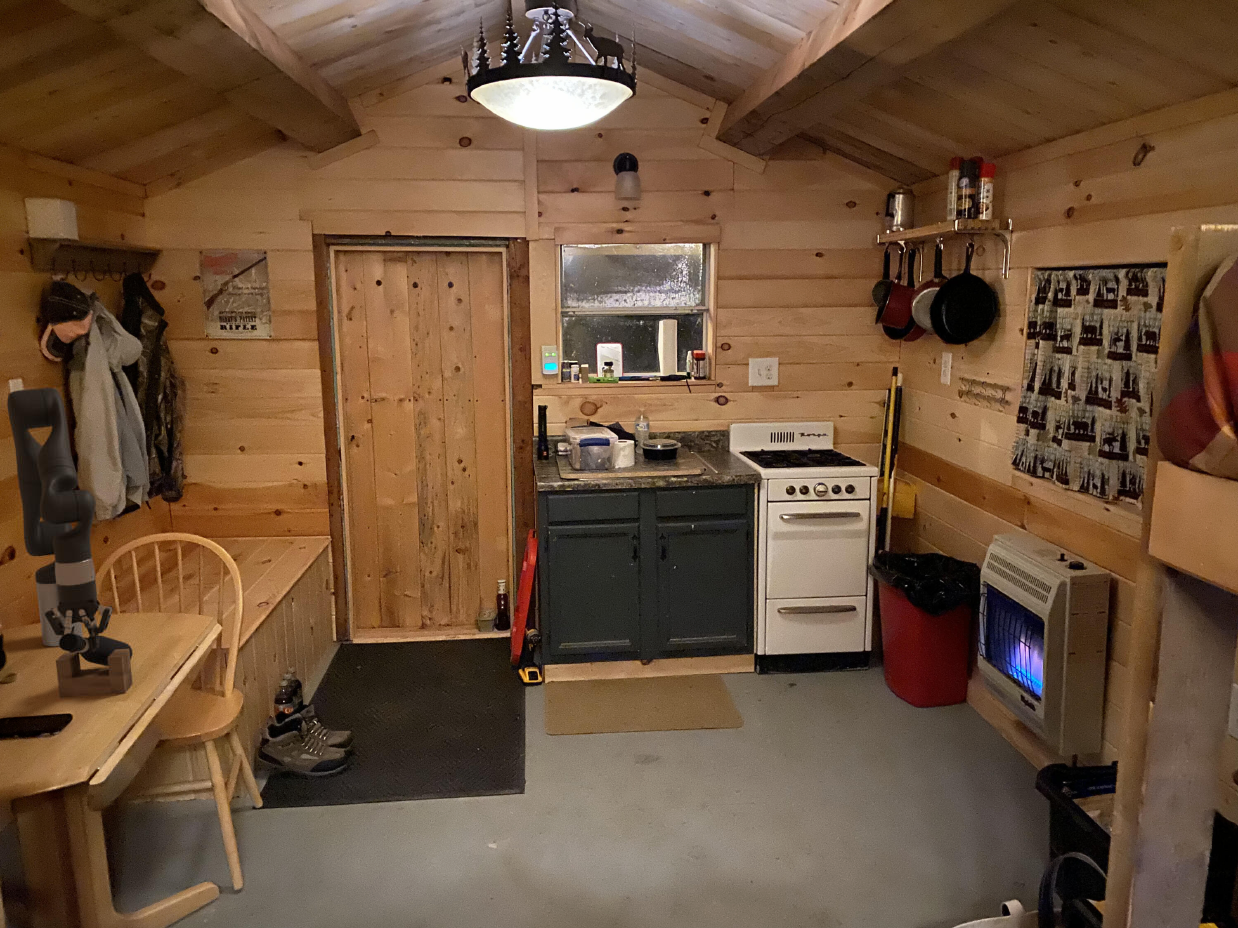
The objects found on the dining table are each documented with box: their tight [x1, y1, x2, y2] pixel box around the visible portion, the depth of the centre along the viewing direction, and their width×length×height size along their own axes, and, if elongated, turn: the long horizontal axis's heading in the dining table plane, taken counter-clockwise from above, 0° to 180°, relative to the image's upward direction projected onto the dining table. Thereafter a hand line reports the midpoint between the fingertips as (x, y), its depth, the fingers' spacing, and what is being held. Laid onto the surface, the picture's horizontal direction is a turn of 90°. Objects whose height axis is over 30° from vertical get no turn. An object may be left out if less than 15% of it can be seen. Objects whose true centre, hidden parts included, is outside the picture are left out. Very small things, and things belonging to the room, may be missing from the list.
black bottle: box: [58, 633, 133, 667], centre depth 212 cm, size 6×6×30 cm
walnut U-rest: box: [55, 649, 134, 698], centre depth 211 cm, size 5×14×9 cm, turn 100°
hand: (83, 650), depth 205 cm, fingers closed on black bottle, 3 cm apart
